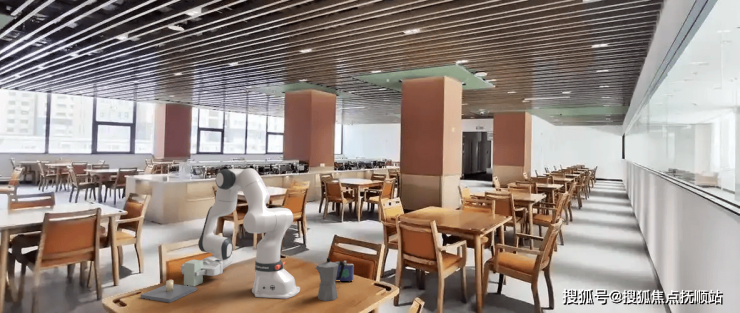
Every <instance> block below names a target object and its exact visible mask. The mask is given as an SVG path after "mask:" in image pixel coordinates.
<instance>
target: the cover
mask: <svg viewBox="0 0 740 313" xmlns="http://www.w3.org/2000/svg"><path fill="white" fill-rule="evenodd" d="M183 264H184V274H183V285H184V286H187V285H188V286H192V287H197V286H198V285H200V284H203V282H204V281H203V280H204V278H203V276H204V275H198V276H195V272H196V271H201V270H202V269H201V268H202V267H203V261H202V259H201V260H200V259H190V260H187V261H186V262H184V263H183Z"/></svg>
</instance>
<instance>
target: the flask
mask: <svg viewBox="0 0 740 313" xmlns="http://www.w3.org/2000/svg"><path fill="white" fill-rule="evenodd" d="M343 263H344V264H345V266H344V270H343V273H342V276H341V279H337V277H339V273H340V269H341V265H339V266H338V271H337V277H336V280H340V281H352V280H353V281H354V273H355V272H354V270H355V268H354V267H355V266H354V264H353V263H347V260H343ZM336 280H335V281H336Z"/></svg>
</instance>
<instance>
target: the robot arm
mask: <svg viewBox="0 0 740 313" xmlns="http://www.w3.org/2000/svg"><path fill="white" fill-rule="evenodd" d="M215 175H216V176H215V184H216V187H217V188H216V191H215V192H216V194H215V199H214V203H213V205H211V206H210V207H209V209H208V211H207V214H206V217H205V220H204V224H203V228H202V231H201V235H200V237H199V238H198V244H197V245H198V248H199V250H200V252H202V253H203V252H204V253H208V254H209V253H210V254H212V255H211V256H207V257H205V258H203V259H201V260H202V261H203V267H202V268H201V269H202V270H201V271H196V272H195V276H198V275H203V276H210V277H212V276H213V277H215V276H218V275H222V274H223V272H224V269H226V268H227V267H229V266H230V265H231V264H232V263H233V262H234V255H233V250H234V244H233V241H232V239H231V238H229V237H227V236H226V237H225V236H221V235H218V234H215V233H214V231H215V230H214V229H215V227H216V223H217V220H218V219H219V218H221V217H225V216H229V215H231V214H232V213H234V211H235V210H236V209H237V206H238V205H237V204H238V195H239V194H238V193H239V191H241V190H242V193H243V196H244V197H245V201H246V202H247V205H248V208H247V212H246V214H245V215H244V217H243V220H242V224H243V228H244V230H245V231H246V232H247V233H249V234H264V233H265V234H264V236H263V237H262V239H260V240H259V241H258V242H257V244H256V248H255V250H256V251H255V252H256V253H255V254H256V255H255V256H256V258H255V259H256V260H255V262H254V271H255V272H254V273H255V274H254V282H253V286H252V289H251V292H252V294H253V295H254V297H255V298H269V299H270V298H271V299H290V298H291V297H294V296H296V295H297V294H299V292H300V291H301V286H298V285H296V280H295V277H294V276H293V275H292V274H291V273H290V272H288V271H287V270H286V269H285V268H284V265H285V264H286V261H284V262H282V260H281V247H282V242H283V238H284V236H285V234H286V232H287V230H288V229H289V227H291V226H292V225H293V222H294V214H293V212H292V210H291V209H289V208H286V207H272V208H269V207H267V204H268V202H269V201H270V199H271V198H270V197H271V194H270V192H269V190H268V188H267V186H266V184H265V181H264V180H263V178H262V177H261V176H260V174H259V173H258V171H257V170H256V169H254V168H251V167H249V168H229V169H228V168H225V169H220V170H218V172H217V173H216V174H215ZM180 273H181V274H182V275H184V263H183V264H181V265H180Z"/></svg>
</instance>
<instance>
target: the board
mask: <svg viewBox="0 0 740 313" xmlns="http://www.w3.org/2000/svg"><path fill="white" fill-rule="evenodd" d="M197 290H198V287H197V286H187V285H184V284H178V283H177V284H176V283H174V279H168V280H166V281H165V284H164V285H162V286H159V287H156V288H154V289H152V290H150V291H146V292H144V293H141V294H140V297H139V298H140V299H143V298H145V300H149V299H150V301H156V302H161V303H162V302H163V303H168V304H171V303H173V302H174V301H175V302H176V301H177V300H179V299H182V298H184V297H185V296H188V295H190V294H192V293H195V292H196V291H197Z"/></svg>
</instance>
